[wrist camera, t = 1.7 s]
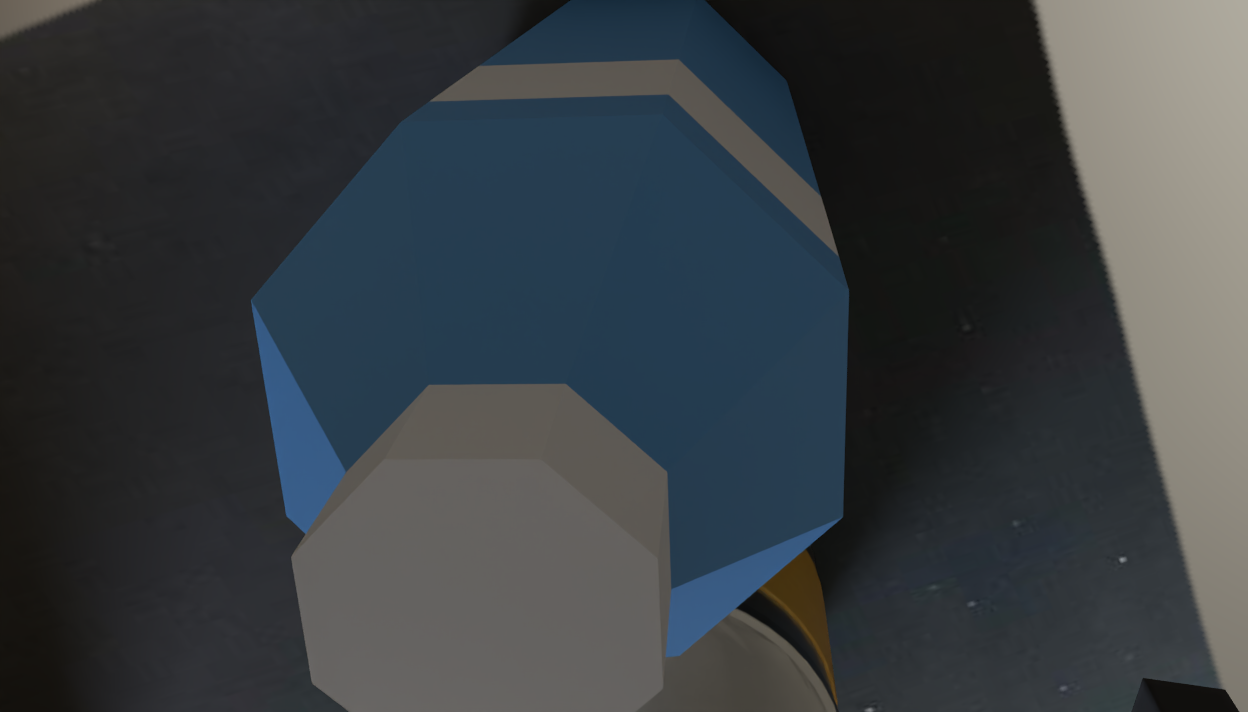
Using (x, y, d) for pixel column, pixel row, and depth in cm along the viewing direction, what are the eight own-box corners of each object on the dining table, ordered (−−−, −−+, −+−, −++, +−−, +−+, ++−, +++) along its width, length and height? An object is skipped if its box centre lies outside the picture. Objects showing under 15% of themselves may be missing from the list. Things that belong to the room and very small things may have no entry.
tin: (592, 376, 39) (554, 512, 30) (887, 538, 40) (928, 710, 32) (441, 626, 43) (372, 806, 34) (713, 766, 44) (710, 972, 36)
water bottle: (727, 335, 38) (726, 1050, 15) (449, 231, 37) (-14, 800, 14) (849, 52, 34) (1101, 399, 11) (543, -67, 34) (138, 35, 11)
